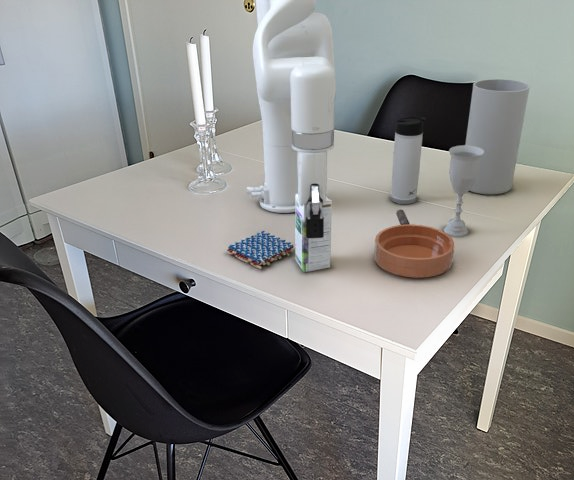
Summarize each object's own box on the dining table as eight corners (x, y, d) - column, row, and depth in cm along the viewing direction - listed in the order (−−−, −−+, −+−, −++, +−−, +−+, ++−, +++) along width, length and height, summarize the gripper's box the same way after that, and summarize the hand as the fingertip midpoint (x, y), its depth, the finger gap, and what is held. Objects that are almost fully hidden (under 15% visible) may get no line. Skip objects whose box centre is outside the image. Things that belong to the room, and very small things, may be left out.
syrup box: (294, 259, 123) (293, 193, 115) (321, 255, 124) (322, 188, 117) (303, 273, 118) (302, 204, 111) (331, 268, 120) (333, 199, 112)
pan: (380, 281, 115) (381, 260, 112) (369, 244, 128) (370, 225, 125) (460, 279, 115) (463, 258, 113) (441, 242, 128) (443, 223, 126)
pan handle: (411, 232, 126) (411, 225, 125) (402, 233, 126) (403, 225, 125) (403, 215, 134) (404, 207, 133) (395, 215, 134) (395, 208, 133)
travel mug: (417, 205, 145) (425, 122, 134) (389, 203, 146) (395, 121, 135) (418, 195, 150) (425, 114, 140) (391, 194, 151) (396, 113, 141)
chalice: (449, 221, 137) (459, 143, 127) (477, 229, 133) (489, 149, 124) (433, 232, 132) (442, 152, 123) (462, 241, 128) (474, 159, 119)
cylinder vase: (489, 199, 146) (507, 94, 134) (449, 185, 155) (462, 84, 142) (521, 187, 153) (541, 85, 140) (481, 173, 161) (496, 76, 148)
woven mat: (224, 254, 126) (223, 245, 125) (262, 237, 132) (262, 228, 131) (258, 271, 119) (257, 262, 118) (296, 252, 125) (296, 243, 124)
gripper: (290, 126, 115) (292, 210, 124) (293, 154, 100) (295, 247, 109) (330, 125, 115) (329, 208, 124) (338, 152, 100) (336, 245, 109)
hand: (313, 226), depth 116 cm, fingers open, 9 cm apart
